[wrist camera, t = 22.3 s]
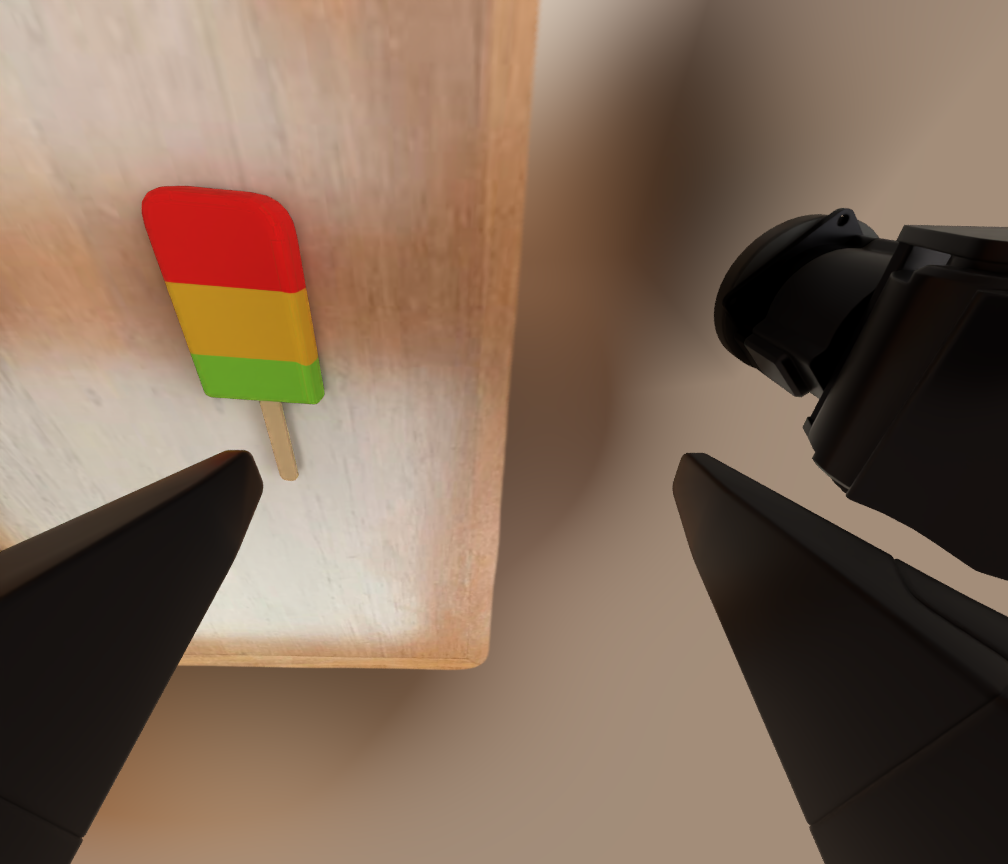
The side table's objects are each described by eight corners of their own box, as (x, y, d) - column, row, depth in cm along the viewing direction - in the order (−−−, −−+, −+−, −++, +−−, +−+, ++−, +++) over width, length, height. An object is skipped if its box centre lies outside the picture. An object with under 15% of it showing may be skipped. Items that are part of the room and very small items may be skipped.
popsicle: (294, 195, 17) (272, 196, 15) (342, 472, 25) (331, 492, 23) (158, 182, 16) (121, 182, 15) (251, 466, 24) (234, 487, 23)
